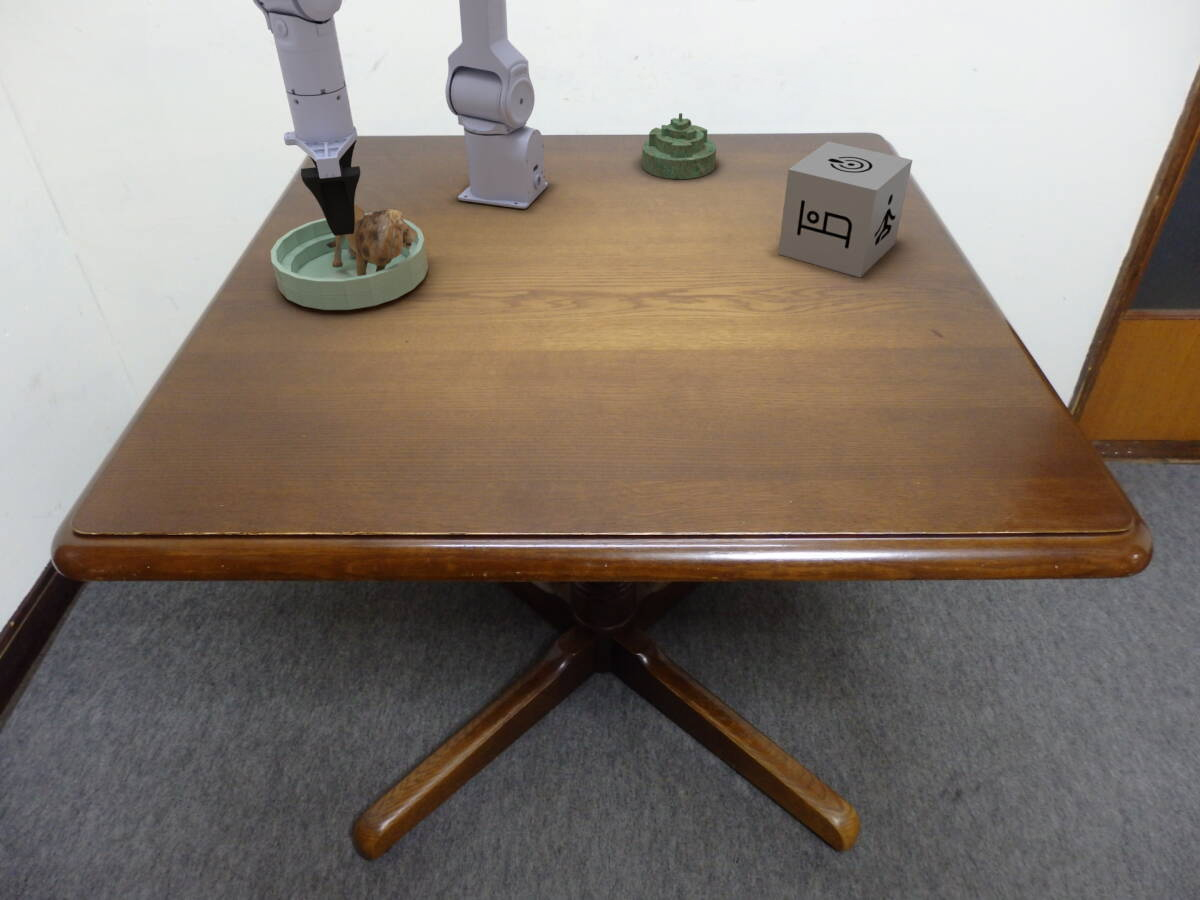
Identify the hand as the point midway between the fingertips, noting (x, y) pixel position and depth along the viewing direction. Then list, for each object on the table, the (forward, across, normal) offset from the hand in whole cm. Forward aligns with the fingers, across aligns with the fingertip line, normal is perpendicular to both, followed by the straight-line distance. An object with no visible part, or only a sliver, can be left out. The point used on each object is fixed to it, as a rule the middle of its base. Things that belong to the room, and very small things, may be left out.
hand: (342, 218), depth 97 cm
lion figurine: (+6, +2, +1) cm, 7 cm away
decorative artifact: (+7, -21, +45) cm, 50 cm away
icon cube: (+7, +8, +54) cm, 56 cm away
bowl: (+7, 0, 0) cm, 7 cm away
